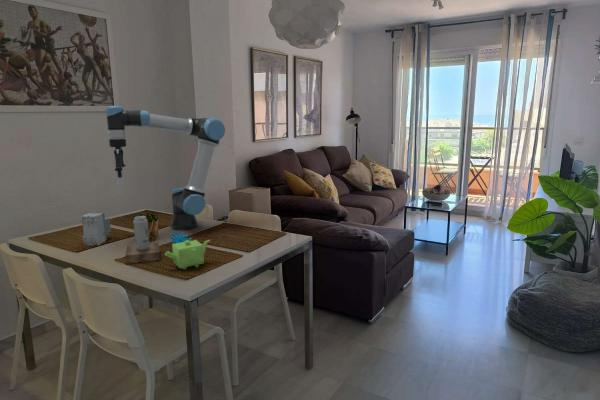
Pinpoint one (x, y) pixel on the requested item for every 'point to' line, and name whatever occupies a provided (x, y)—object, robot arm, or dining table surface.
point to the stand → (142, 254)
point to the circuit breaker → (95, 228)
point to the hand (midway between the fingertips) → (121, 181)
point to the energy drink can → (141, 233)
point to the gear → (179, 238)
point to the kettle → (188, 253)
